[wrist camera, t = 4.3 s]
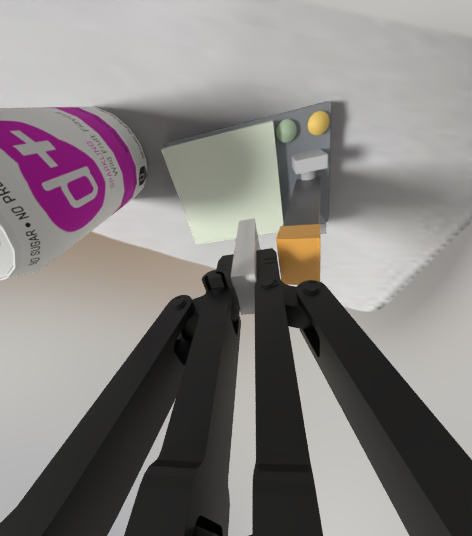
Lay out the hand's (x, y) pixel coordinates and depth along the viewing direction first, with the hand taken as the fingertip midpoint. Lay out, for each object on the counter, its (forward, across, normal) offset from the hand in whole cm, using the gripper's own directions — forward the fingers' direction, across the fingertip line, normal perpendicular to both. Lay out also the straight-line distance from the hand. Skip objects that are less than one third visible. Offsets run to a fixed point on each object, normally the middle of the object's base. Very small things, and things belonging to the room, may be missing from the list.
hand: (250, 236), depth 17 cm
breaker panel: (+8, 0, +2) cm, 8 cm away
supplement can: (+9, -13, +7) cm, 17 cm away
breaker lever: (+6, +5, 0) cm, 8 cm away
